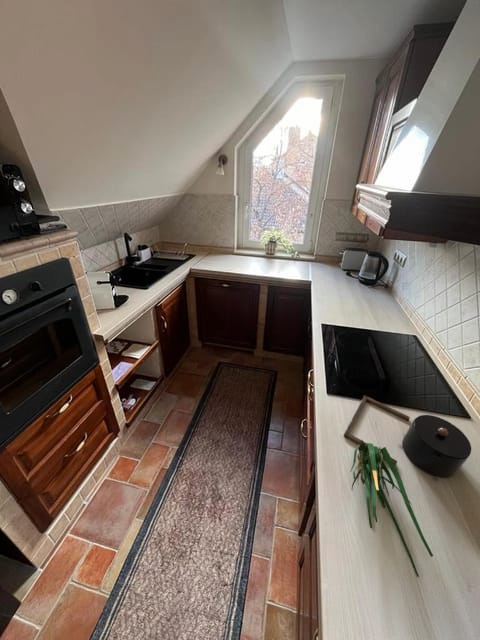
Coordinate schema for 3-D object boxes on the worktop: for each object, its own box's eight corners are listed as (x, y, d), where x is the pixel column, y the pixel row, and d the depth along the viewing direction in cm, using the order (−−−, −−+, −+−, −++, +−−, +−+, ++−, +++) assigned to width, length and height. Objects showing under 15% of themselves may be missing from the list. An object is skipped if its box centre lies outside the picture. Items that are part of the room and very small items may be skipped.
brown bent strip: (408, 419, 88) (410, 416, 88) (395, 466, 74) (396, 464, 73) (363, 397, 97) (364, 395, 96) (343, 435, 82) (344, 433, 81)
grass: (335, 465, 79) (330, 545, 56) (350, 426, 75) (352, 496, 52) (398, 494, 73) (422, 596, 50) (419, 454, 69) (455, 546, 46)
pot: (457, 449, 79) (476, 424, 73) (454, 492, 68) (476, 467, 62) (407, 424, 87) (420, 400, 81) (397, 459, 76) (411, 434, 70)
